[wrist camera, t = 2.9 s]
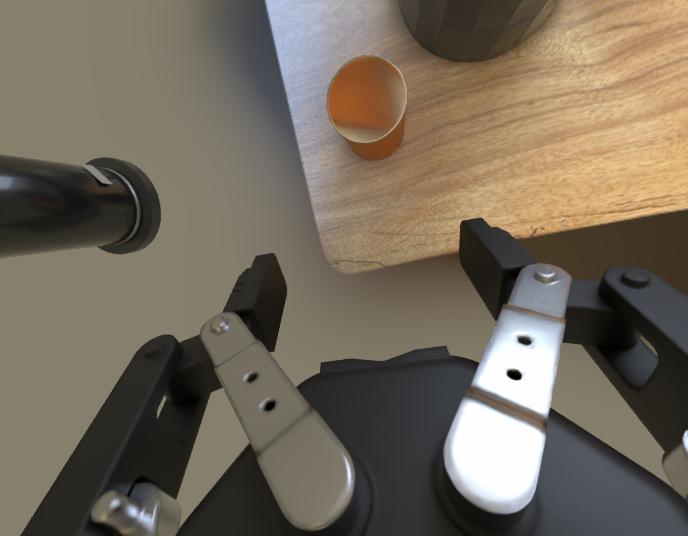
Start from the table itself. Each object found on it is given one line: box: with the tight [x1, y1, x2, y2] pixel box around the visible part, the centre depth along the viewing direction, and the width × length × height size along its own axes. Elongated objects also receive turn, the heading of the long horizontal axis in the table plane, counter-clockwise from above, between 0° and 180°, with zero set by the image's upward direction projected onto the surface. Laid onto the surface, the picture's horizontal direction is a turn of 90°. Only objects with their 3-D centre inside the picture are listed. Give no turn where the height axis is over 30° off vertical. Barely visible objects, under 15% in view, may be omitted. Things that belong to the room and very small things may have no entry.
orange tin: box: [327, 55, 407, 160], centre depth 24 cm, size 6×6×8 cm
